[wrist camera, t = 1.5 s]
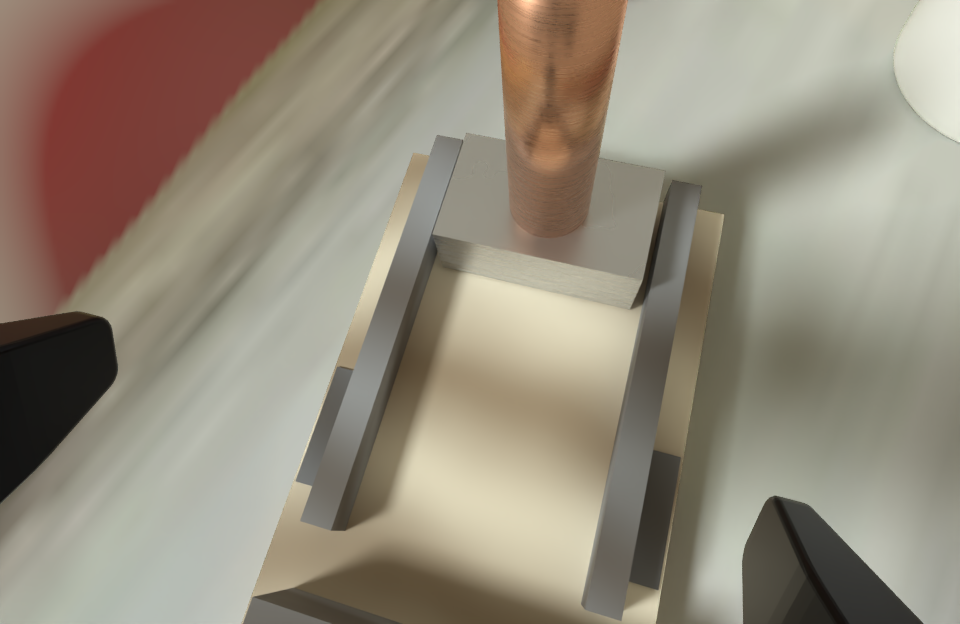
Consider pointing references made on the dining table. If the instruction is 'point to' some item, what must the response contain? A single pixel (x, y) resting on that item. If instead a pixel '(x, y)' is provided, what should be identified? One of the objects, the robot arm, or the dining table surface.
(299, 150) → the dining table surface
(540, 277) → the press jaw
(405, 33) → the dining table surface
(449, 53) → the dining table surface
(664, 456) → the press frame
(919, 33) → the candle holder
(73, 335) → the robot arm
